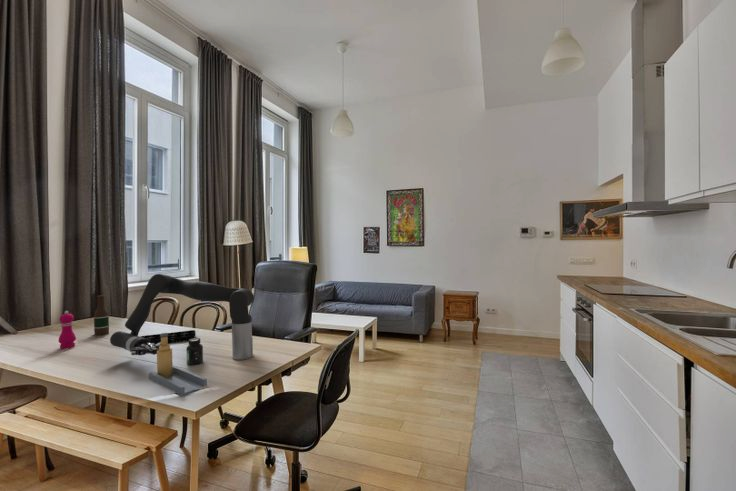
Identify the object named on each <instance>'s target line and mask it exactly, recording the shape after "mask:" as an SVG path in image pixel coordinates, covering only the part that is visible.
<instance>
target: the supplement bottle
mask: <svg viewBox="0 0 736 491" xmlns="http://www.w3.org/2000/svg"><path fill="white" fill-rule="evenodd" d="M185 351H186V365H187V366H190V367H193V366H198V365H201V364H203V363H204V346H203V344H201V338H200V337H195V338H193V339H190V340H189V341H188V345H187V347H186V350H185Z"/></svg>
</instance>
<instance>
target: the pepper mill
mask: <svg viewBox="0 0 736 491" xmlns="http://www.w3.org/2000/svg"><path fill="white" fill-rule="evenodd" d="M74 319H75V316H74V315H73V314H72V313H69V311H68V310H64V314H62V315H61V316H60V317H59V322H60V326H61V333H60V335H59V337H58V343H59V344H60V345H59V349H60V348H61V350H67V349H66V348H68V349H72V348H75V346H76V343H75V341H76V339H77V336H76V335H75V332H74V331H73V325H74V324H73V321H74ZM71 347H72V348H71Z"/></svg>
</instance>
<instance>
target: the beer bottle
mask: <svg viewBox="0 0 736 491" xmlns="http://www.w3.org/2000/svg"><path fill="white" fill-rule="evenodd" d="M93 314H94V315H93V332H94V336H104V335H109V333H110V322H109V321H110V319H109V316H110V314H109V310H108V309H107V308H106V305H105V295H104V294H100V295H98V296H97V308H96V310H95V311H94V313H93Z"/></svg>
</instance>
